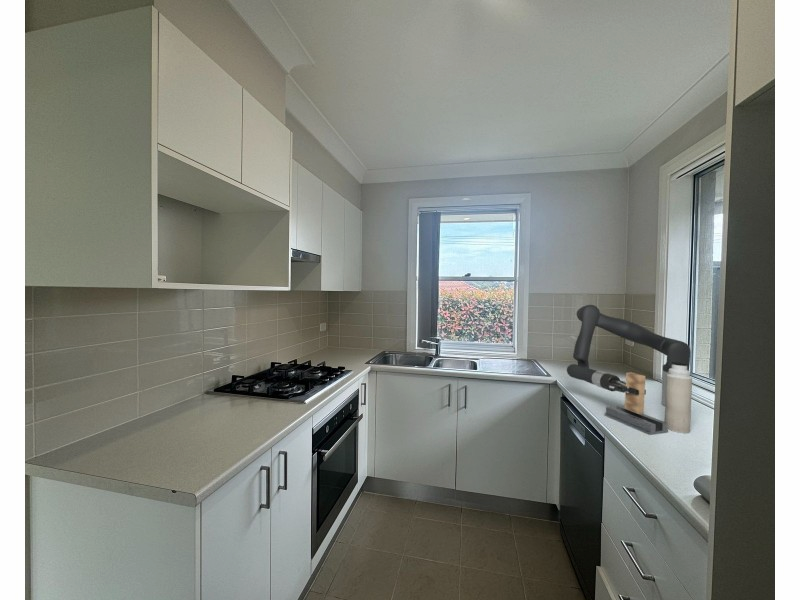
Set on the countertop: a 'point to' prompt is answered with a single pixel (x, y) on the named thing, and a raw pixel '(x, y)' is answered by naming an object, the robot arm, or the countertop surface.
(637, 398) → the door slat
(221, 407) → the countertop surface
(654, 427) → the rail
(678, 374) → the thermos bottle
